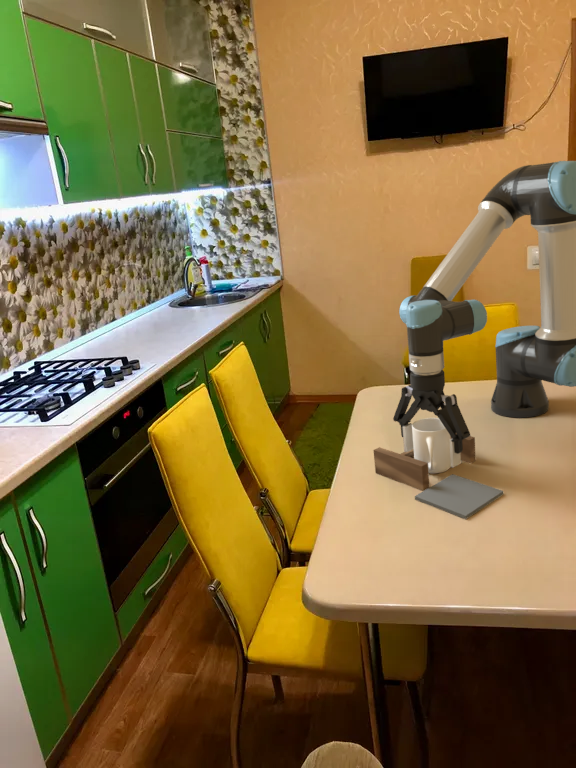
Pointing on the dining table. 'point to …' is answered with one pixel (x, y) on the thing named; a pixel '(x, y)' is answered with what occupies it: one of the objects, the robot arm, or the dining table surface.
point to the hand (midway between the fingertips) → (431, 457)
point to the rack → (413, 464)
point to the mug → (431, 444)
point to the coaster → (459, 496)
